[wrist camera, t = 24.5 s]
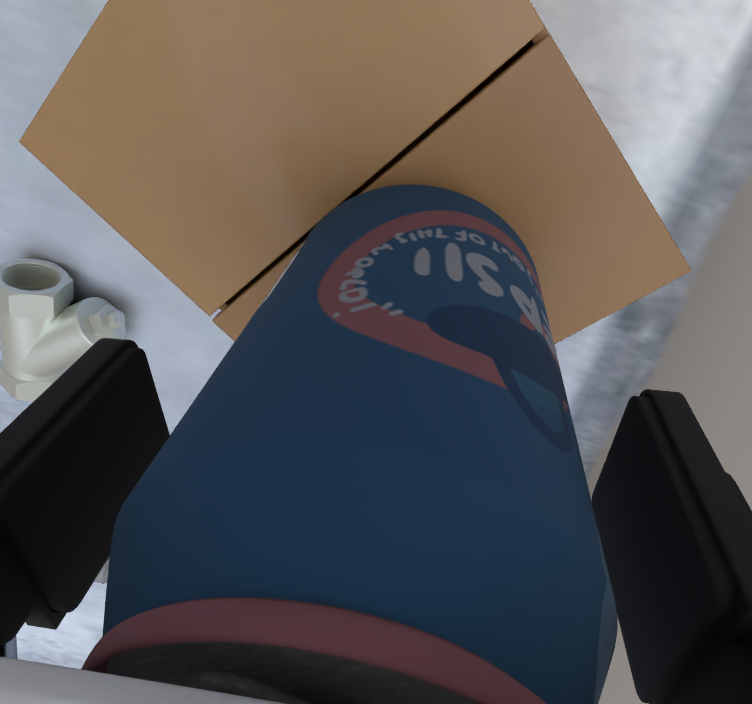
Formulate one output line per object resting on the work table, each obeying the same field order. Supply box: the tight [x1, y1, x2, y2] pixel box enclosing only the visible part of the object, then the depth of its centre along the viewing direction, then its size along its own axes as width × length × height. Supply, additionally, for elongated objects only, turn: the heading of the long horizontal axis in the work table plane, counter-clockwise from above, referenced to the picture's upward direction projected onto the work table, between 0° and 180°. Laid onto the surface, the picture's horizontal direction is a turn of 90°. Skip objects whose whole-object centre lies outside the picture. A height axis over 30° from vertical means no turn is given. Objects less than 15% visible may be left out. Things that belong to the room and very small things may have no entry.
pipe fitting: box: [0, 259, 126, 401], centre depth 30 cm, size 8×4×7 cm
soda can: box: [81, 184, 617, 704], centre depth 11 cm, size 7×7×12 cm
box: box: [213, 27, 691, 344], centre depth 19 cm, size 15×13×10 cm
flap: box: [19, 0, 545, 316], centre depth 13 cm, size 7×13×1 cm, turn 131°
